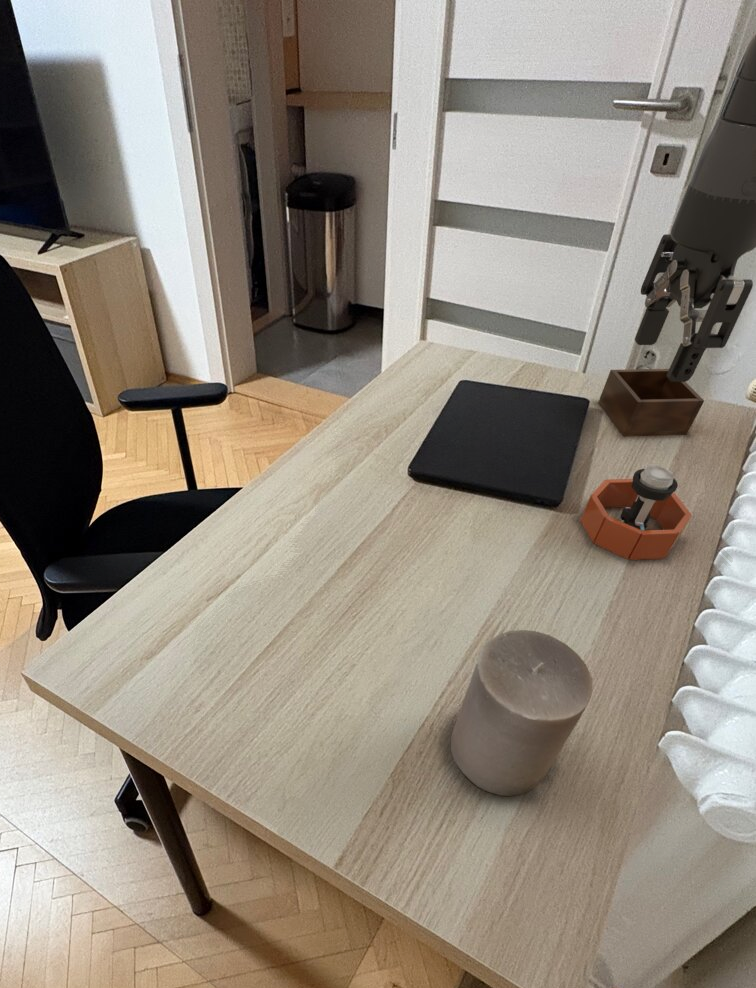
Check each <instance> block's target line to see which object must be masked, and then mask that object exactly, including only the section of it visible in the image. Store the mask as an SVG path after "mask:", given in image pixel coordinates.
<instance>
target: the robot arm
mask: <svg viewBox="0 0 756 988" xmlns="http://www.w3.org/2000/svg"><path fill="white" fill-rule="evenodd" d="M685 190H686V191H685V192H684V196H683V198H682V200H681V203H680V206H679V208H678V211H677V213H676V216H675V219H674V221H673V223H672V226H671V229H670V234H667V233H666V234H663V235H662V237H661V238H660V241H659V243H658V246H657V248H656V251H655V253H654V255H653V258H652V260H651V263H650V265H649V267H648V270H647V272H646V275H645V277H644V280H643V282H642V284H641V287H640V294H641V295H643V296H646V297H645V300H644V306H645V308H646V309H645V312H644V314H643V317H642V319H641V322H640V324H639V327H638V329H637V332H636V334H635V337H634V342H635V343H636V344H637V345H638V346H653V345H655V344H656V343H657V342H658V339H659V337H660V334H661V333H662V331H663V330H662V329H663V327H664V325H665V323H666V320H667V318H668V316H669V313H670V310H669V309H668V308H670V307H671V306H672V305H673V304H675V303H676V302H677V305H678V307H680V309H679V320H680V322H682V323H683V333H682V342H680V344H679V345H678V348H677V351H676V353H675V355H674V357H673V360H672V362H671V364H670V366H669V368H668V369H669V370H668V373H667V375H666V377H667V378H668V379H669V381H671V382H686V383H687V382H688V381H689V380H690V379H691V378H692V377H693V376H694V373H695V371H696V369H697V368H698V366H699V364H700V361H701V359H702V357H703V355H704V354H705V351H706V350H707V349H723V348H725V347H726V345H727V343H728V341H729V339H730V337H731V334H732V333H733V330H734V328H735V326H736V324H737V321H738V319H739V317H740V316H741V313H742V312H743V309H744V306H745V304H746V303H747V301H748V298H749V295H750V293H751V291H752V289H753V286H754V281H753V279H751V278H750V279H749V278H748V279H747V278H746V279H745V278H742V279H739V278H737V277H735V276H734V275H735V270H736V266H737V263H738V260H739V259H740V258H741V257H742V256H743V255H745V254H746V253H749V252H752V251H753V250H754V249H756V32H755V33H754V34H753V35H752V36H751V38H750V39H749V41H748V43H747V45H746V46H745V49H744V51H743V53H742V55H741V59H740V60H739V63H738V65H737V67H736V71H735V73H734V77H733V79H732V81H731V84H730V86H729V89H728V92H727V94H726V96H725V99H724V101H723V104H722V107H721V110H720V112H719V115H718V117H717V119H716V121H715V124H714V125H713V128H712V130H711V132H710V134H709V135H708V137H707V138H706V141H705V143H704V145H703V147H702V150H701V152H700V155H699V157H698V159H697V162H696V165H695V167H694V169H693V172H692V174H691V178H690V180H689V183H688V185H687V188H686V189H685ZM661 273H663V274H662V275H661V276H660V277H659V278H658V279H657V280H656V278H657V275H658V274H661ZM655 280H656V281H655ZM706 306H708V307H707V309H705V310H703V308H705V307H706ZM701 309H702V310H701ZM697 323H700V326H699V328H698V330H697ZM719 323H721V325H720V327H719V330H718V331H717V324H719ZM696 330H697V331H696Z"/></svg>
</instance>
